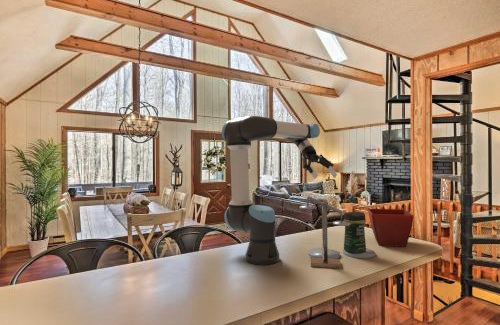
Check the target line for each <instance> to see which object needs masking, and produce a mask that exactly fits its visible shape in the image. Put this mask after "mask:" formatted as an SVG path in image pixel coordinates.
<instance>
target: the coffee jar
mask: <svg viewBox="0 0 500 325" xmlns="http://www.w3.org/2000/svg"><path fill="white" fill-rule="evenodd" d="M343 221H347V222H350V223H351V225H350V226H344V239H343V240H344V241H343V249H344V250H345V251H346V252H348V253H363V252H366V248H367V242H366V235H365V226H366V213H365V212H363V211H347V212H346V211H345V212H344V215H343Z"/></svg>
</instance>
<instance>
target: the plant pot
mask: <svg viewBox="0 0 500 325" xmlns="http://www.w3.org/2000/svg"><path fill="white" fill-rule="evenodd" d="M367 211H368V212H367V214H368V217H369V222H370V226H371V230H372V234H373V235H374V239H375V241H376V243H377V245H378V246H383V247H384V246H385V247H387V246H388V247H407V244H408V241H409V238H410V235H411V231H412V228H413V221H414V214H413V213H411V212H410V211H407V210H406V209H403V208H401V209H400V208H399V209H398V208H368V209H367Z"/></svg>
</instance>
